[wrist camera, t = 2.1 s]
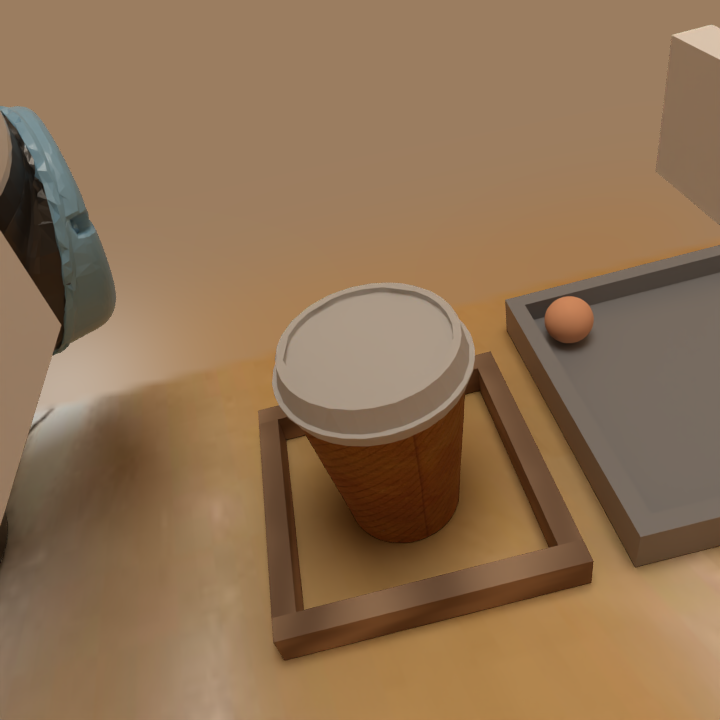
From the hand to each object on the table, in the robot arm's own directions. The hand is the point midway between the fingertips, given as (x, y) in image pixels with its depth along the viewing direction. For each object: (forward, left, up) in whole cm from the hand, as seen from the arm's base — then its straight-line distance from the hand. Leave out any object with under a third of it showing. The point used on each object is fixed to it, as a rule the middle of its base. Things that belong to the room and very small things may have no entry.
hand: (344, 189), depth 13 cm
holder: (0, +11, -25) cm, 27 cm away
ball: (+13, +19, -24) cm, 33 cm away
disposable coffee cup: (0, +11, -25) cm, 27 cm away
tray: (+20, +13, -25) cm, 34 cm away
